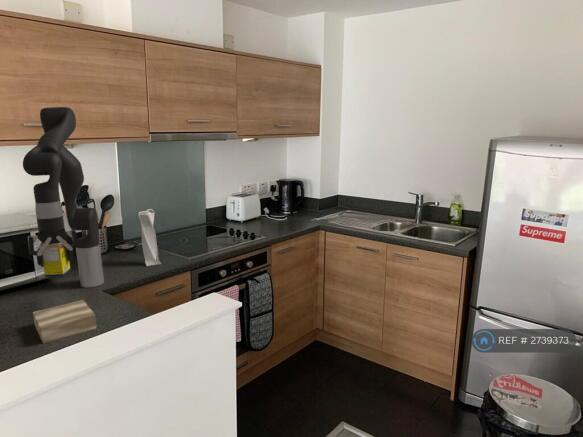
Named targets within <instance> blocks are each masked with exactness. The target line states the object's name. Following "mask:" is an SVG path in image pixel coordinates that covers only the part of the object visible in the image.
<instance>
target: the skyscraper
mask: <svg viewBox="0 0 583 437" xmlns="http://www.w3.org/2000/svg"><path fill="white" fill-rule="evenodd" d="M151 211H152V212H151ZM138 217H139V222H140V226H141V246H142V251H143V257H144V260H145V261H144V265H145V266H146V267H151V266H157V265H162V262H161V261H160V257H159V256H160V255H159V249H158V248H159V246H158V245H157V244H158V243H157V234H156V231H155V228H154V224H155V210H153V209H152V208H150V209H146V210H143V211H139V212H138Z"/></svg>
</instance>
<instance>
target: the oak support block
mask: <svg viewBox="0 0 583 437" xmlns="http://www.w3.org/2000/svg"><path fill="white" fill-rule="evenodd" d="M32 316H33V321H34V326H35V328H36V332H37V333H38V335H39V338H40V339H41V340H40V341H41V342H42V344H46V343H50V342H53V341H57V340H60V339H63V338H66V337H70V336H74V335H79V334H81V333H85V332H88V331H91V330H96V329H98V328H97V327H98V326H97V320H96V319H97V318H96V314H95V312H94V311H93V310H92V309H91V308H90V306H89V305H88V304H87V303H86V301H85V300H84V299H81V300H76V301H73V302H68V303H65V304H60V305H56V306H52V307H48V308H44V309H40V310H36V311H32Z"/></svg>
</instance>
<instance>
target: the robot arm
mask: <svg viewBox="0 0 583 437" xmlns="http://www.w3.org/2000/svg"><path fill="white" fill-rule="evenodd" d="M39 118H40V122H41V126H42V129H43V134H42V135H41V137H39V140H38V142H37V145H36V146H34V147H33V148H31V149H30V150H29V151H28V152H27V153H26V154H25V155H24V157H23V160H22V168H23V170H24V172H25V173H26V174H28V175H29V176H32V177H37V176H38V177H39V176H49V178H48V179H47V181H43V182H39V183H36V184H34V186H33V195H34V203H35V204H34V205H35V210H34V211H35V215H36V222H37V223H36V225H37V231H38V233H37V235H28V236H27V246H28V253H29V255H30V256H36V261H37V265H38V266H40V268H44V265H43V258H42V253H43V251H44V250H45V249H46V247H47V245H49V244H54V243H62V244H63V245H64V246H65V247H66V248H67V249H68V250H67V253H68V260H69V263H71V262H72V261H73V260H74V250H75V252H76V253H75V254H76V258H77V266H78V274H79V282H80V287H82V288H95V287H98V286H102V285H103V284H104V282H105V280H104V269H103V261H102V253H101V245H100V232H99V231H100V230H99V217H98V211H97V210H96V209H95V208H94V207H79V208H78V207H77V202H76V201H77V198H78V194H79V192H80V191H81V188H82V186H83V184H84V181H85V175H84V172H83V167H82V163H81V161H80V160H79V159H78V158H77V157H76V155H74V154H73V153H72V152H71V151H70V150H69V149H68V148H67V147H66V146H65V145H64V144H65V143H66V142H67V140H68V139H69V138H70V137H71V135H72V134H73V133H74V131H75V130H76V126H77V119H76V114H75V112H74V110H73V109H72V108H71V107H69V106H67V107H66V106H55V107H54V106H53V107H52V106H51V107H43V108H41V110H40V112H39ZM60 190H61V194H62V197H63V203H64V207H65V213H66V214H65V215H66V220H67V223H68V226H69V228H70V230H67V231H66V229H65V220H64V211H63V206H62V203H61V197H60ZM77 231H87V234H86V235H84V236H81V237H78V236H77ZM67 236H69V238H71V240H72V241H71V242H72V244H69V243H68V242H67V240H66V238H67ZM38 240H39V241H40V243H39V246H38V248H37V250H35V243H36V242H37V241H38ZM64 240H66V241H64ZM42 244H43V245H42ZM41 245H42V246H41ZM40 246H41V247H40Z"/></svg>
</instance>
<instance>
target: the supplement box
mask: <svg viewBox="0 0 583 437" xmlns="http://www.w3.org/2000/svg"><path fill="white" fill-rule="evenodd" d="M64 241H66V242H67V239H64ZM42 245H43V244H42ZM42 245H41V246H42ZM39 246H40V245H39ZM41 246H40V247H41ZM67 250H68V248H66V247H65V246H64V245H63V244H62V243H54V244H49V245H47V247H46V249H45V250H44V251H43V253H42V254H41V255H42V258H43V265H44V267H43V272H44V277H45V278H51V277H52V278H55V277H64V276H65V275H67V274H68V273H69V272H70V271H71V264H70V263H71V262H69V260H68V253H67Z"/></svg>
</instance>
